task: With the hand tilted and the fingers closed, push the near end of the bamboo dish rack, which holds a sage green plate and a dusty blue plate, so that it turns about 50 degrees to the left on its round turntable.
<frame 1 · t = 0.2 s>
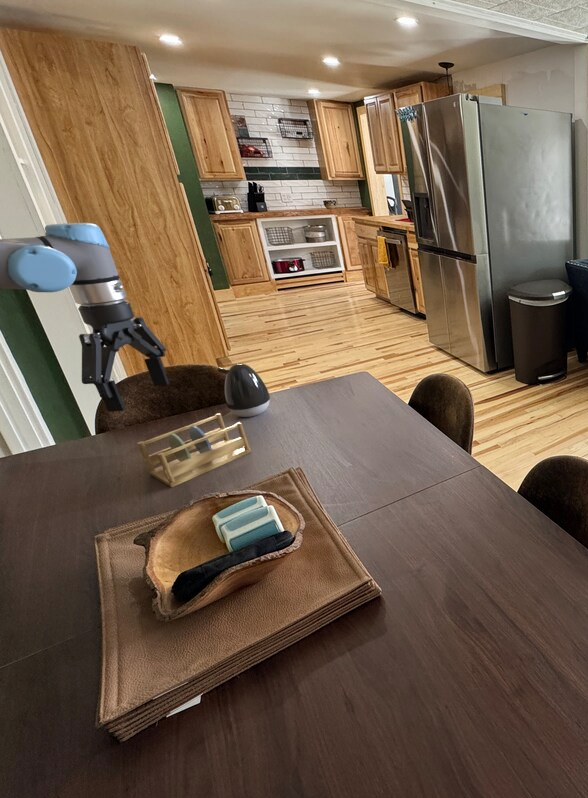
hand: (141, 397, 104), 19 cm above the table, tool pointing down, fingers open, 13 cm apart
dish rack: (196, 446, 109), point 6 cm above the table, hinge at 0.0°
pump dispenser: (252, 413, 137), on the table
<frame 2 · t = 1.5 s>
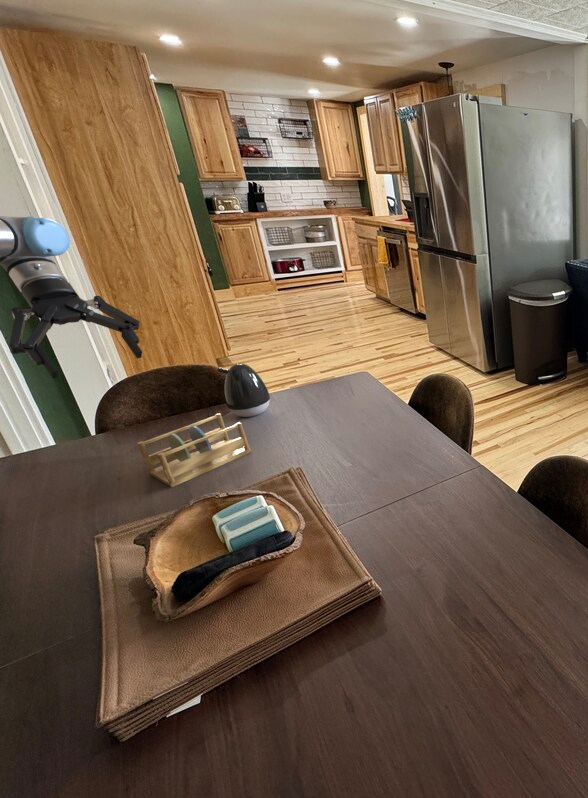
hand: (99, 364, 102), 26 cm above the table, tool tilted 45°, fingers open, 13 cm apart
nothing on the table moved.
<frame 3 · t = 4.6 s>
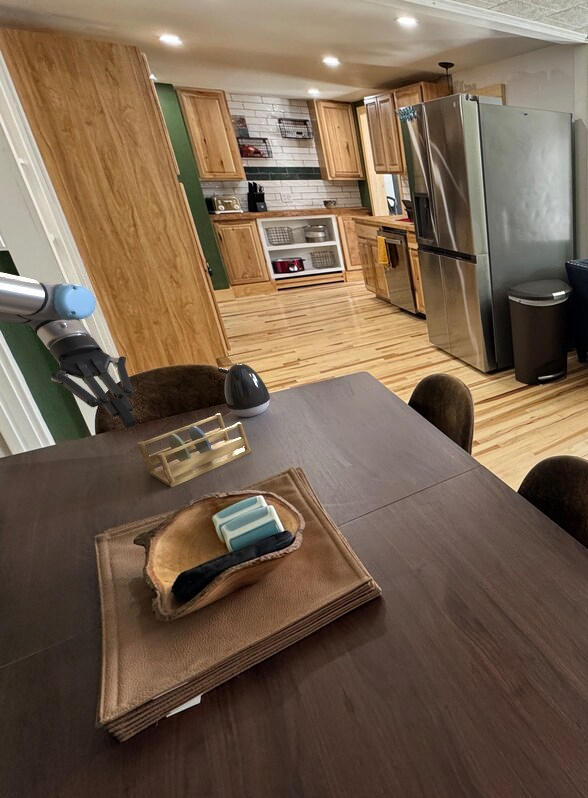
hand: (131, 423, 108), 11 cm above the table, tool tilted 45°, fingers closed
nothing on the table moved.
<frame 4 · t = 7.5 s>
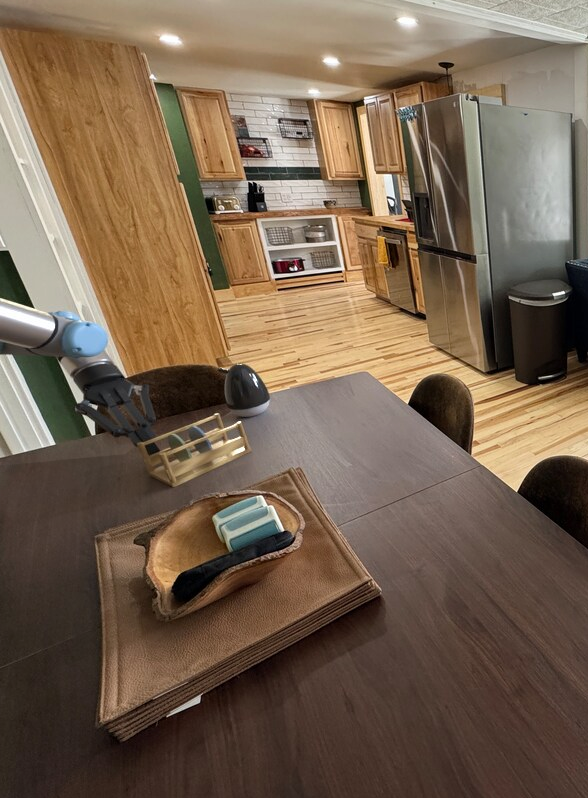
hand: (155, 453, 107), 6 cm above the table, tool tilted 45°, fingers closed
dish rack: (196, 446, 109), point 6 cm above the table, hinge at 2.1°, touching gripper
everything else where it was.
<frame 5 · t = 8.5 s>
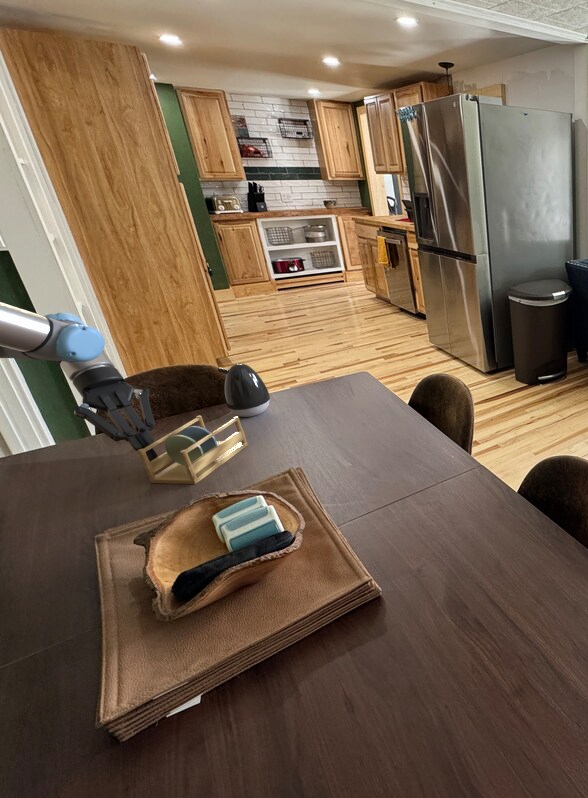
hand: (154, 459, 105), 6 cm above the table, tool tilted 45°, fingers closed
dish rack: (196, 446, 109), point 6 cm above the table, hinge at 26.4°, touching gripper
everything else where it was.
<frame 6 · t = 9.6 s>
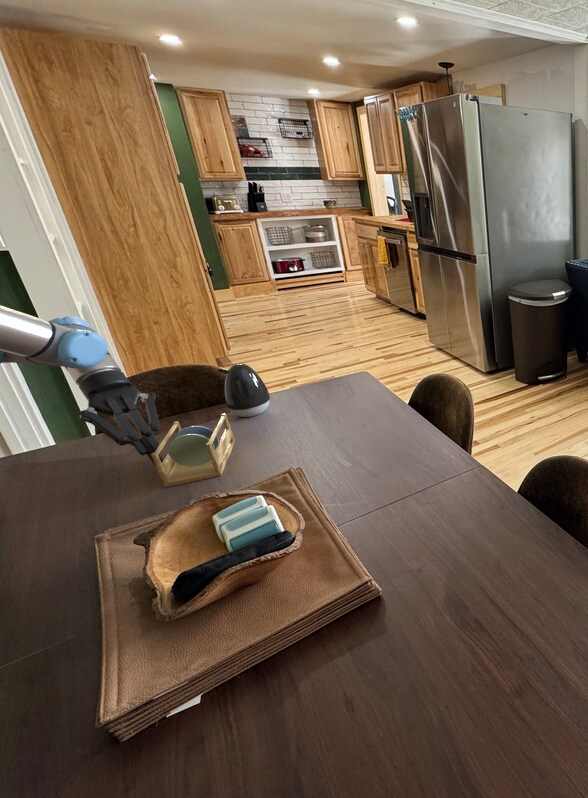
hand: (159, 463, 103), 6 cm above the table, tool tilted 45°, fingers closed
dish rack: (196, 446, 109), point 6 cm above the table, hinge at 54.4°, touching gripper
everything else where it was.
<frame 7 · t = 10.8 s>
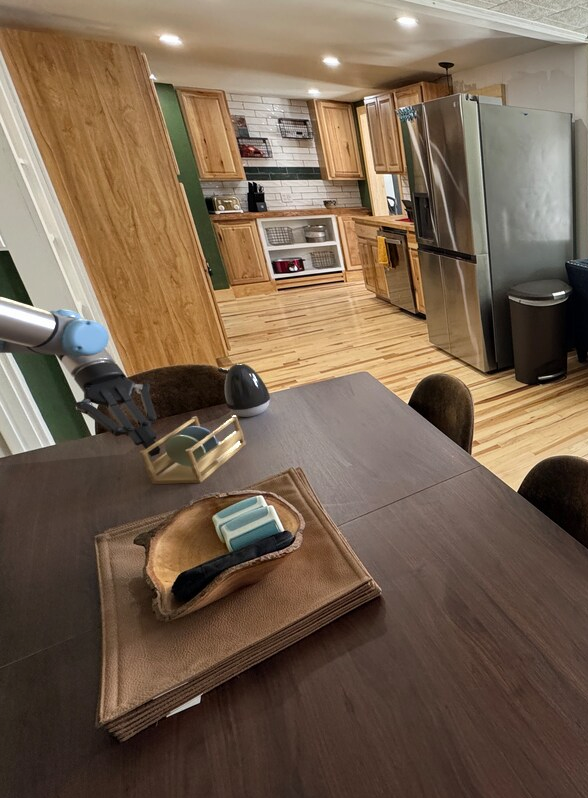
hand: (155, 452, 106), 6 cm above the table, tool tilted 45°, fingers closed
dish rack: (196, 446, 109), point 6 cm above the table, hinge at 31.8°
everything else where it was.
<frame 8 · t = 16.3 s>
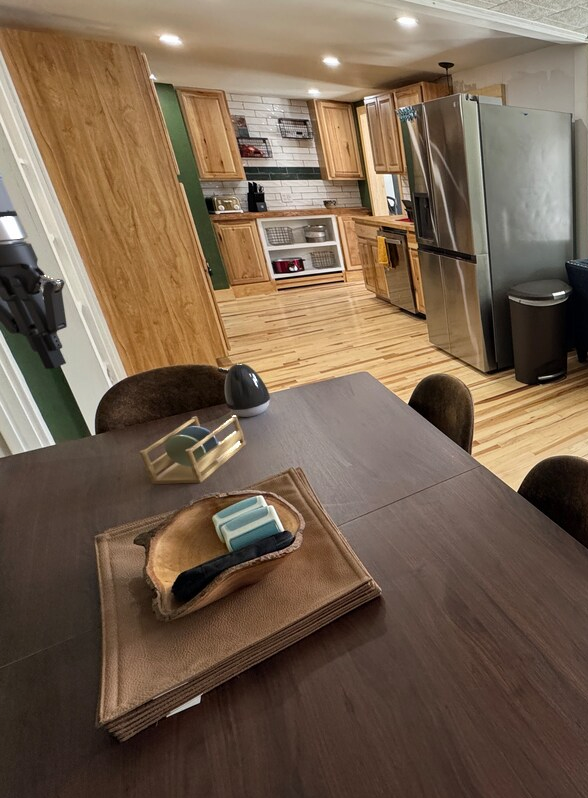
hand: (56, 365, 92), 29 cm above the table, tool pointing down, fingers closed
nothing on the table moved.
at the end: dish rack at +32° (first picture: +0°); pump dispenser moved 0.2 cm from its start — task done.
